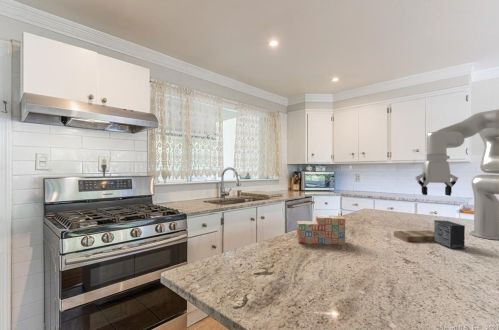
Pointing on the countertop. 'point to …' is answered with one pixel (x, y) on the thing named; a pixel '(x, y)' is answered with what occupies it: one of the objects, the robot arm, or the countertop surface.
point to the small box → (449, 234)
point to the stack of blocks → (322, 230)
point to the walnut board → (415, 236)
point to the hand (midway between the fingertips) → (436, 195)
